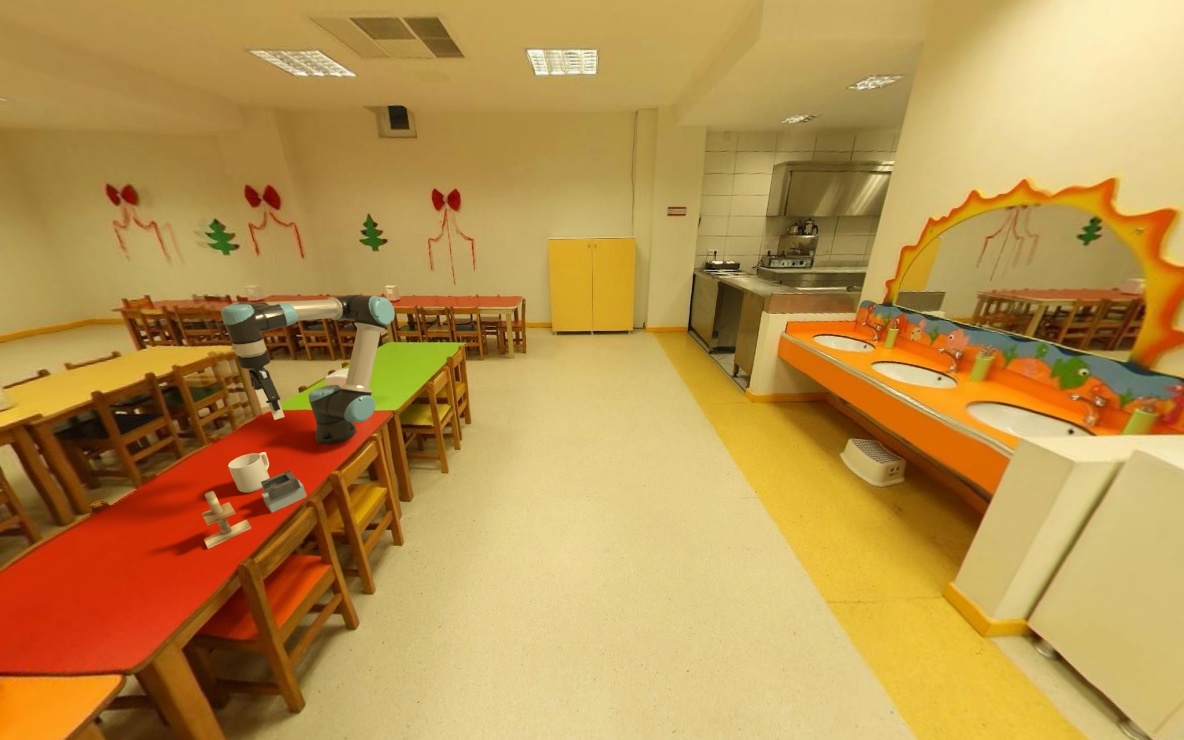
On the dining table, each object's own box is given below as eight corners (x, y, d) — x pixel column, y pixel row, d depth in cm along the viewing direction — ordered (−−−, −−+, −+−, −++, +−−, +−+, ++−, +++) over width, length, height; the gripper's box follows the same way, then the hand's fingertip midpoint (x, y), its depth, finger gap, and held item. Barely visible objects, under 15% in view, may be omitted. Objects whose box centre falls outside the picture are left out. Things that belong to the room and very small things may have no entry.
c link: (292, 478, 133) (289, 470, 132) (300, 487, 129) (297, 479, 127) (263, 490, 127) (260, 482, 126) (271, 500, 123) (268, 491, 122)
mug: (257, 494, 133) (246, 468, 128) (232, 494, 133) (220, 468, 128) (283, 473, 144) (274, 448, 140) (260, 472, 144) (250, 448, 140)
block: (300, 489, 135) (296, 478, 133) (306, 496, 132) (302, 484, 130) (265, 505, 128) (261, 493, 126) (271, 512, 125) (266, 500, 123)
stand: (246, 520, 121) (229, 480, 115) (252, 529, 118) (234, 488, 112) (204, 540, 114) (183, 498, 108) (209, 550, 110) (187, 507, 104)
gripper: (226, 348, 125) (248, 405, 133) (248, 365, 111) (271, 428, 119) (255, 343, 131) (274, 398, 139) (279, 358, 117) (298, 418, 125)
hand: (272, 412), depth 129 cm, fingers open, 13 cm apart
